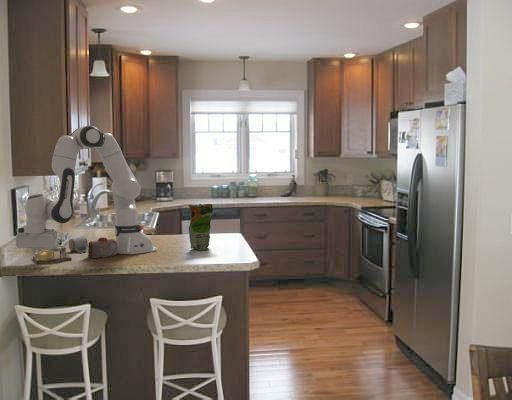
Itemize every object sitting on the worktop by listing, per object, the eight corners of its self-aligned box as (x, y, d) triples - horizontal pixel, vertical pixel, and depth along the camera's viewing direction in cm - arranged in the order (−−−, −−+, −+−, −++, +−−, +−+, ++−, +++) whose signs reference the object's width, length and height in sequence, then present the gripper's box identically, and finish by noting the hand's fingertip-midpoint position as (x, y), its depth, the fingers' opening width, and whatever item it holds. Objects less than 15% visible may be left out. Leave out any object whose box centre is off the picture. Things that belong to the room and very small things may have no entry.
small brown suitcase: (112, 253, 288) (111, 235, 287) (119, 256, 282) (118, 236, 281) (87, 257, 279) (86, 237, 278) (93, 259, 273) (92, 239, 272)
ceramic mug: (67, 251, 296) (67, 236, 295) (82, 249, 301) (81, 235, 300) (76, 254, 288) (76, 239, 287) (91, 252, 293) (91, 237, 293)
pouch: (214, 247, 302) (213, 202, 300) (206, 252, 291) (206, 204, 289) (195, 247, 305) (194, 201, 303) (186, 251, 294) (186, 204, 292)
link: (48, 254, 277) (48, 246, 277) (58, 254, 277) (57, 246, 277) (37, 260, 264) (37, 251, 263) (47, 260, 264) (47, 251, 263)
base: (66, 255, 284) (65, 242, 283) (71, 260, 271) (71, 247, 271) (32, 258, 276) (32, 245, 276) (36, 263, 264) (36, 250, 263)
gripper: (60, 228, 265) (61, 256, 266) (20, 227, 268) (21, 255, 270) (53, 230, 259) (54, 259, 260) (13, 229, 262) (14, 258, 263)
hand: (37, 257), depth 265 cm, fingers closed
